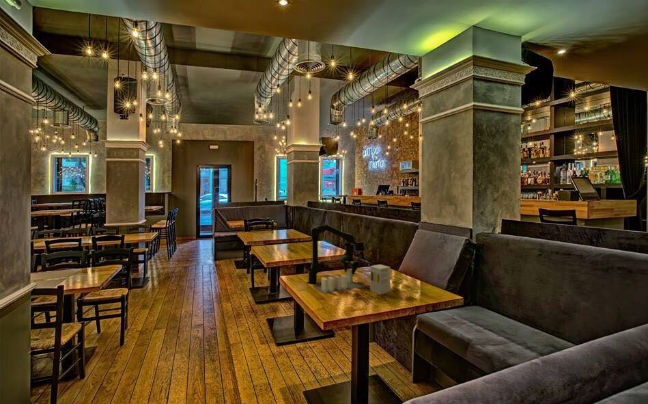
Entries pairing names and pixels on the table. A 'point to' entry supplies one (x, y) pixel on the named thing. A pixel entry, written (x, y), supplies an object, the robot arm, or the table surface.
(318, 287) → the mat
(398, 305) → the table surface
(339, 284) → the domino
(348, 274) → the domino
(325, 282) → the domino
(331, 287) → the domino
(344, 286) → the domino
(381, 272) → the supplement box
